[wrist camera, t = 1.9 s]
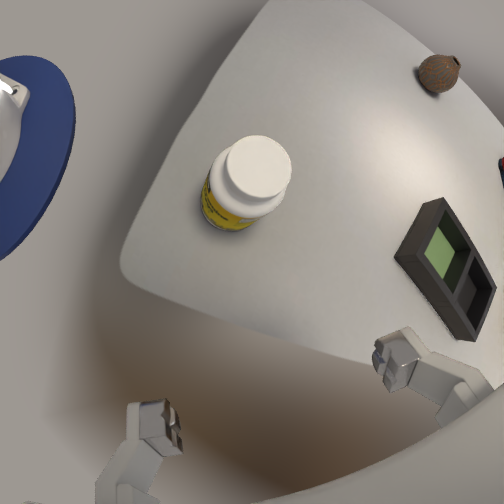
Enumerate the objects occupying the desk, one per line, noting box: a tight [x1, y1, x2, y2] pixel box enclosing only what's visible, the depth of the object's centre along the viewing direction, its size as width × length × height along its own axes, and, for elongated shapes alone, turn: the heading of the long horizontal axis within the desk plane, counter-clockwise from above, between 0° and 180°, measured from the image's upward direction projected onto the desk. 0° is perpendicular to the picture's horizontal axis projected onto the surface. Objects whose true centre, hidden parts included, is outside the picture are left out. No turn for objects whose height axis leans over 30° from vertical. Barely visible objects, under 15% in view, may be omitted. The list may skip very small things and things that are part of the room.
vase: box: [418, 55, 461, 93], centre depth 38 cm, size 7×7×9 cm
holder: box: [394, 197, 497, 342], centre depth 36 cm, size 20×10×4 cm, turn 49°
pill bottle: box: [200, 135, 292, 231], centre depth 26 cm, size 6×6×11 cm
